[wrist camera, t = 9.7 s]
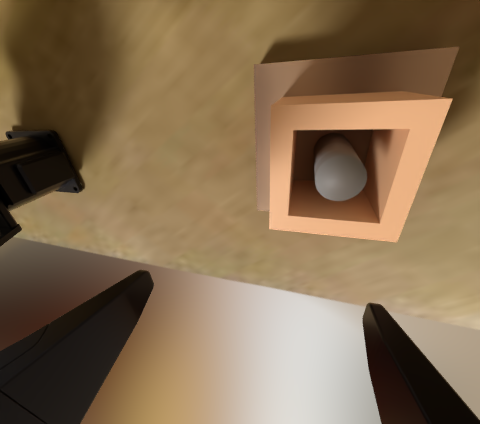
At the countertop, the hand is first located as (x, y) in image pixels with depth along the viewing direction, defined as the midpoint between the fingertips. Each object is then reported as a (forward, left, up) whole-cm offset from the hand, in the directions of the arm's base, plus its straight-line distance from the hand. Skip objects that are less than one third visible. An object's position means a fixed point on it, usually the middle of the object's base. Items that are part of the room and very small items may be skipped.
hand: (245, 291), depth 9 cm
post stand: (+4, +3, -11) cm, 12 cm away
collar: (+4, +3, -10) cm, 11 cm away
